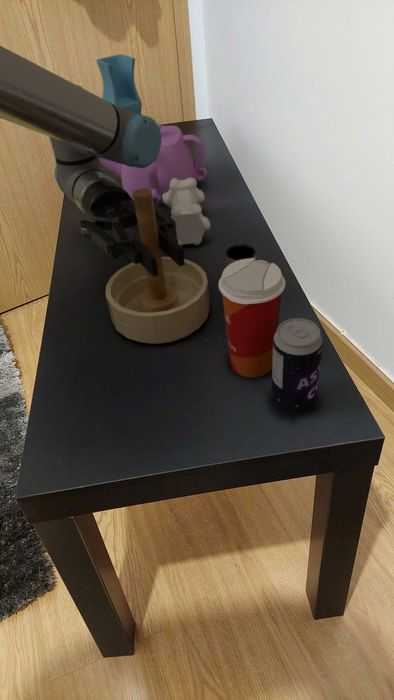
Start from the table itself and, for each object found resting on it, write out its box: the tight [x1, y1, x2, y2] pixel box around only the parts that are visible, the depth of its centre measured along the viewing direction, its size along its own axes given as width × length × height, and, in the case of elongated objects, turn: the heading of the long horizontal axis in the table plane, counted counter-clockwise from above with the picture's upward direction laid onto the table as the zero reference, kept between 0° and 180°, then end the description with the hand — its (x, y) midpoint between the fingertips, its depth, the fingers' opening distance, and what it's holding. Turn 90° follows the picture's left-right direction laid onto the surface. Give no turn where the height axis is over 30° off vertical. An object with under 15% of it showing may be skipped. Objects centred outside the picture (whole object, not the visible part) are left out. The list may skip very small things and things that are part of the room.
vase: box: [95, 53, 143, 114], centre depth 136 cm, size 8×8×20 cm
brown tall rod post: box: [133, 188, 179, 313], centre depth 75 cm, size 6×6×20 cm
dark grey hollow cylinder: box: [224, 243, 257, 268], centre depth 78 cm, size 4×4×10 cm
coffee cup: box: [218, 258, 286, 378], centre depth 67 cm, size 8×8×15 cm
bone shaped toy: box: [162, 178, 211, 247], centre depth 99 cm, size 15×9×8 cm, turn 5°
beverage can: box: [271, 317, 324, 415], centre depth 62 cm, size 6×6×12 cm
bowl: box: [105, 256, 211, 345], centre depth 80 cm, size 16×16×6 cm
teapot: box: [99, 122, 208, 206], centre depth 111 cm, size 19×21×14 cm
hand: (168, 262), depth 70 cm, fingers open, 3 cm apart
